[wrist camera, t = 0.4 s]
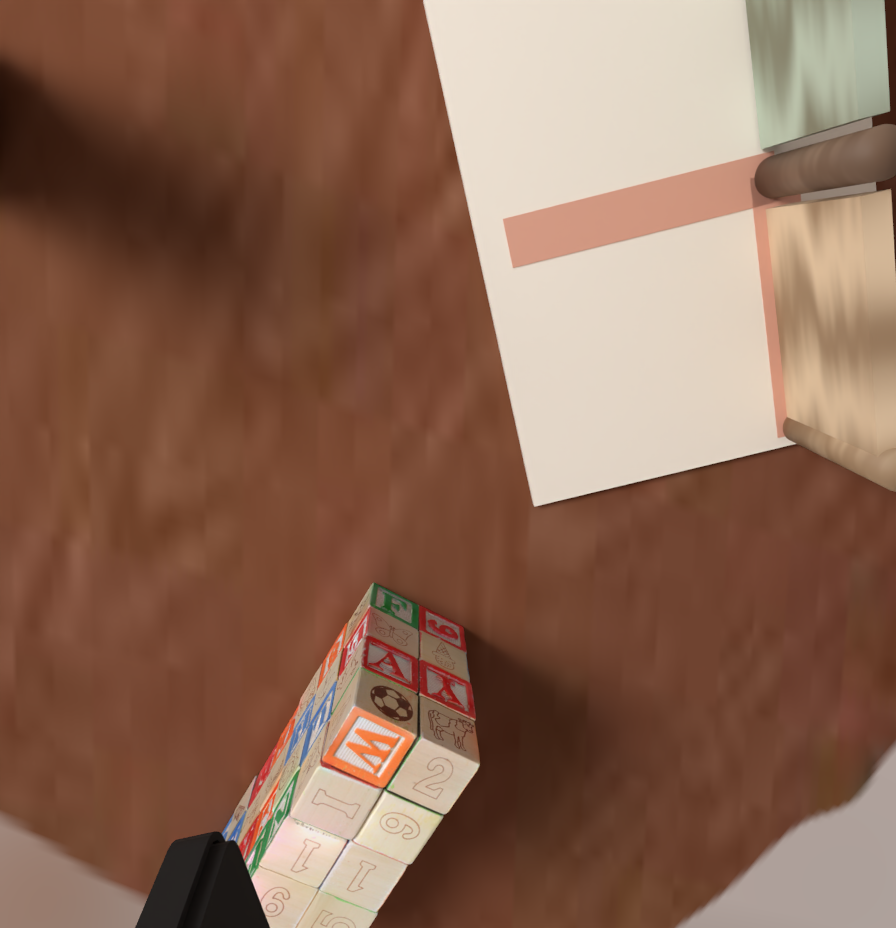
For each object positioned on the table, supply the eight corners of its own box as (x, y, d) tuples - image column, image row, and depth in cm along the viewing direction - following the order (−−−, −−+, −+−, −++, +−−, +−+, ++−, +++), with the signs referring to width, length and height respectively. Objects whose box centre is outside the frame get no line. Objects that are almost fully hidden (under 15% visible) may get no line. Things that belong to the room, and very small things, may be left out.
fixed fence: (751, 160, 35) (855, 131, 27) (791, 150, 35) (908, 118, 26) (782, 445, 39) (879, 496, 31) (818, 436, 39) (925, 485, 31)
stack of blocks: (301, 877, 47) (262, 1087, 35) (214, 842, 46) (143, 1046, 34) (465, 624, 42) (484, 767, 30) (372, 577, 41) (353, 707, 29)
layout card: (403, -90, 32) (403, -96, 31) (845, -208, 31) (852, -216, 31) (532, 503, 40) (534, 506, 39) (884, 419, 39) (890, 421, 39)
